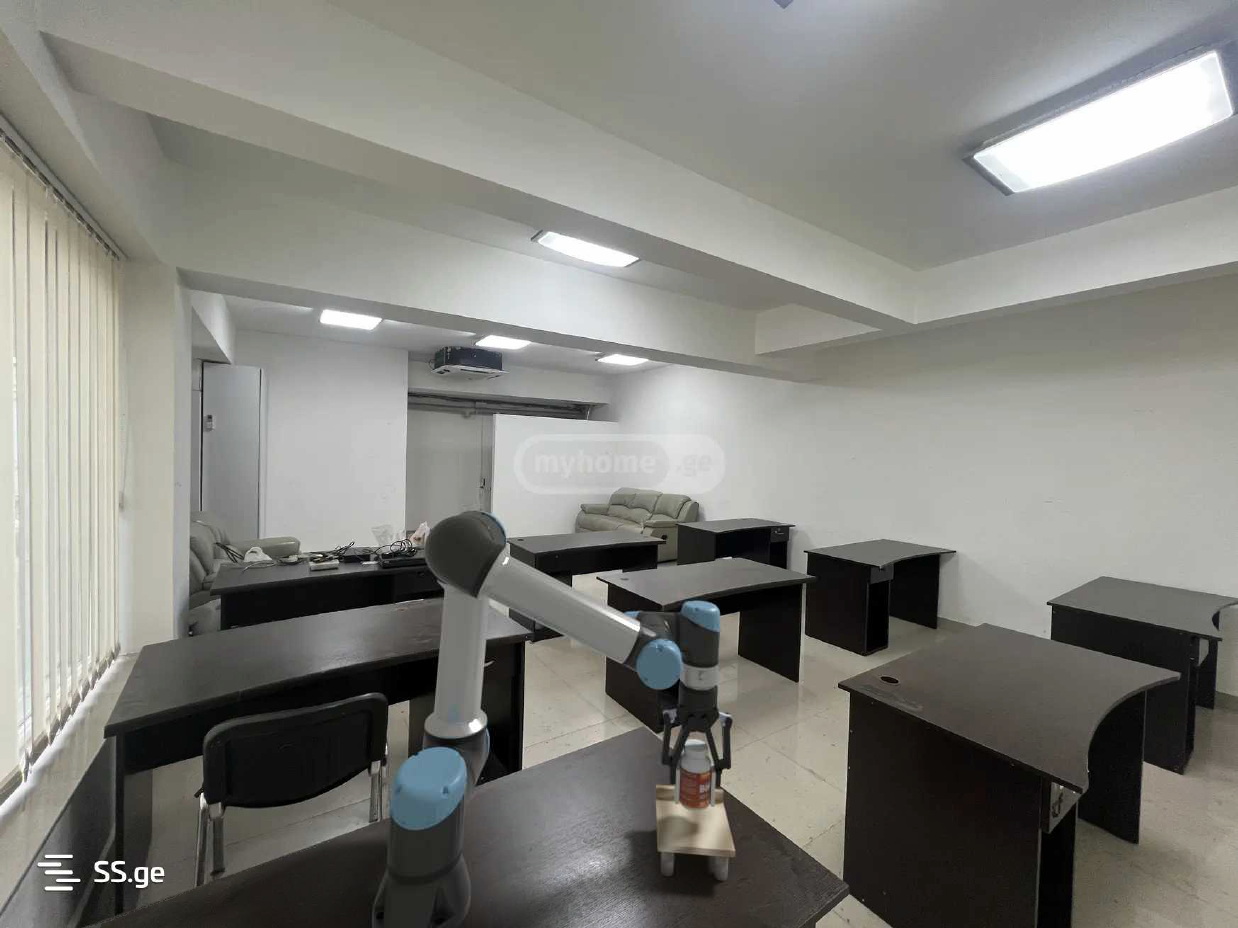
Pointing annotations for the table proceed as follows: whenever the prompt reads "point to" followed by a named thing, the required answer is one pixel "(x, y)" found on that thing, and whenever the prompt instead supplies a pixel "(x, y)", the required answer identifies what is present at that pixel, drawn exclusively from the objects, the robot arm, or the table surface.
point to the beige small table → (692, 831)
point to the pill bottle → (695, 776)
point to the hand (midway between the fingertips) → (693, 800)
